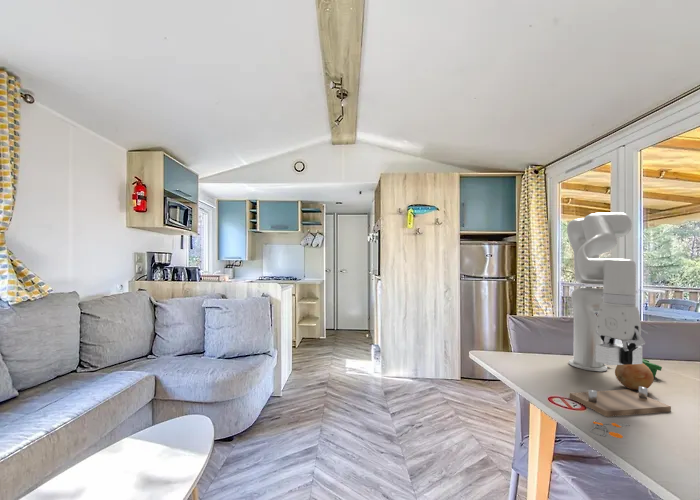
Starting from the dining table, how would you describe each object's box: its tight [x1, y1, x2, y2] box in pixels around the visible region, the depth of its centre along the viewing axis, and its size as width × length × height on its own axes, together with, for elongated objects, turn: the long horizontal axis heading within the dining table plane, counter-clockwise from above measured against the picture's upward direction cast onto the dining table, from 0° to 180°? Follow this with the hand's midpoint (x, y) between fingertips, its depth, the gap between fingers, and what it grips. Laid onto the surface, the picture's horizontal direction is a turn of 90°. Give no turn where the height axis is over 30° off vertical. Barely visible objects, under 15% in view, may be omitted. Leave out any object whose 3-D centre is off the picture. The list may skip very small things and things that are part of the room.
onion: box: [614, 363, 655, 391], centre depth 110 cm, size 10×10×10 cm
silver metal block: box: [596, 343, 643, 366], centre depth 98 cm, size 4×12×5 cm, turn 101°
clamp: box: [642, 357, 663, 378], centre depth 125 cm, size 12×6×9 cm, turn 162°
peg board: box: [569, 386, 672, 418], centre depth 98 cm, size 22×12×4 cm, turn 101°
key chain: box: [588, 418, 630, 440], centre depth 84 cm, size 13×7×1 cm, turn 130°
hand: (618, 360), depth 98 cm, fingers closed on silver metal block, 4 cm apart
